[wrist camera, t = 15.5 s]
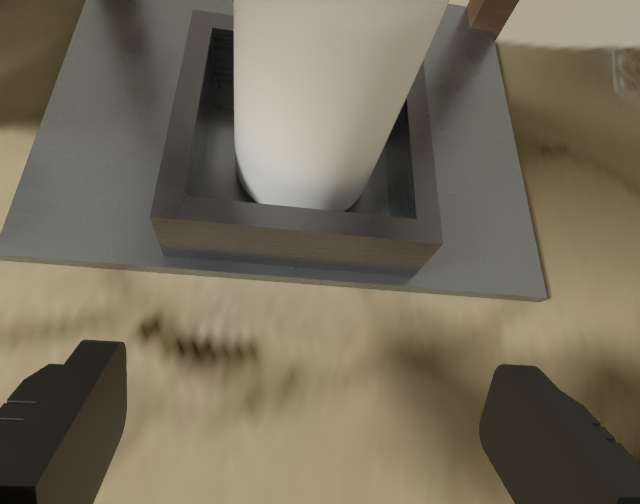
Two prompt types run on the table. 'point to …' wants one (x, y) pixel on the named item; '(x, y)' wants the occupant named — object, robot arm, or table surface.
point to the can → (322, 92)
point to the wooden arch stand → (490, 14)
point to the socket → (223, 182)
